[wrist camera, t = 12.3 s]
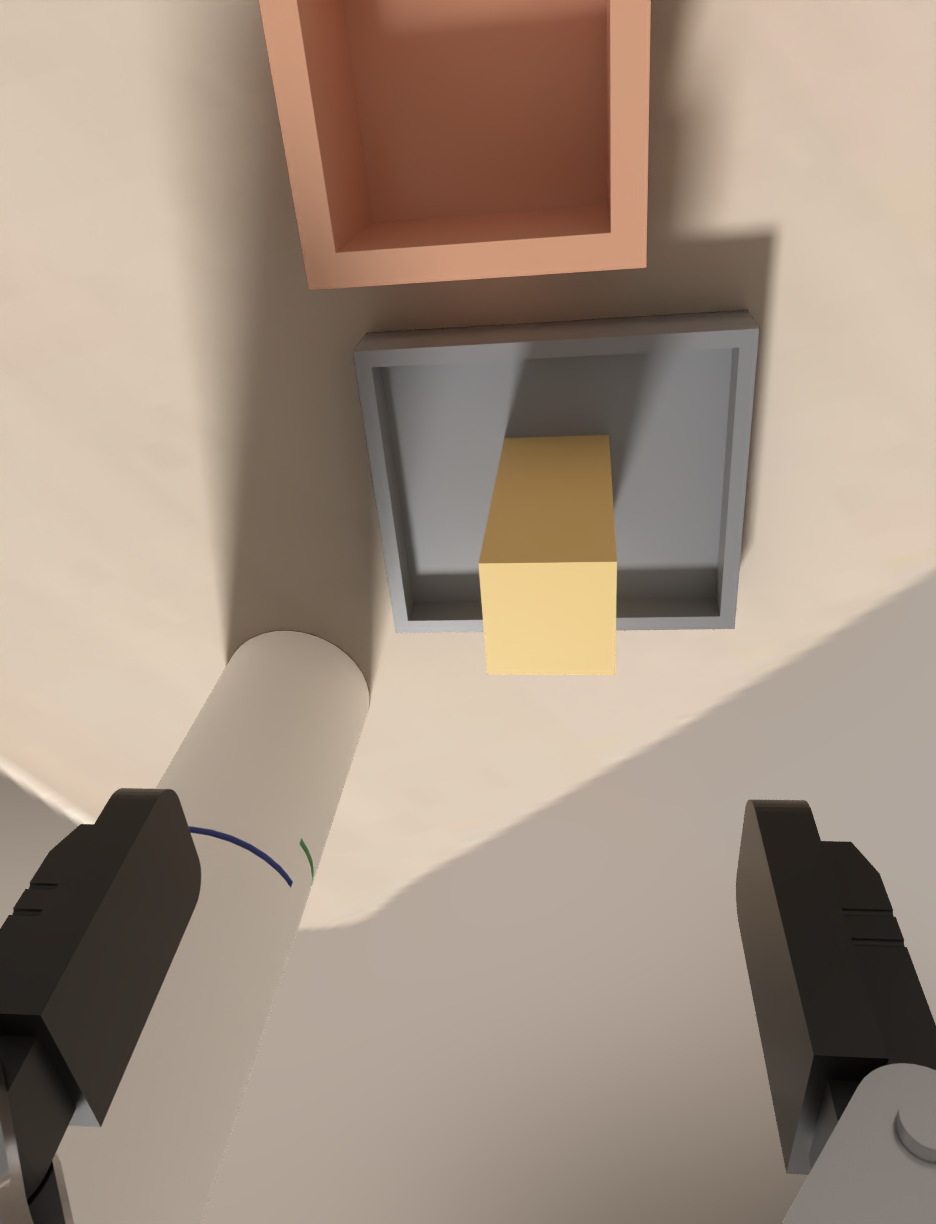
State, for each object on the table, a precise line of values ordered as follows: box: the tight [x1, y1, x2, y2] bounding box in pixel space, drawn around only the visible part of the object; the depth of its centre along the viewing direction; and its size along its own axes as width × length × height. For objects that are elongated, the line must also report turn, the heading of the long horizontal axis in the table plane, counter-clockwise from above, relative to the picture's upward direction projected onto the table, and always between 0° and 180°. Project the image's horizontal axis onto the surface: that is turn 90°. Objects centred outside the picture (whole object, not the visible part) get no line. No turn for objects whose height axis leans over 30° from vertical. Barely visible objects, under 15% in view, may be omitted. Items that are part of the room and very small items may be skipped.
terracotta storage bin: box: [259, 0, 651, 290], centre depth 27 cm, size 10×10×6 cm
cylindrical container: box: [56, 631, 370, 1224], centre depth 33 cm, size 7×7×25 cm
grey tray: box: [353, 310, 759, 633], centre depth 35 cm, size 14×12×2 cm
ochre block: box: [479, 435, 617, 675], centre depth 31 cm, size 4×4×10 cm
